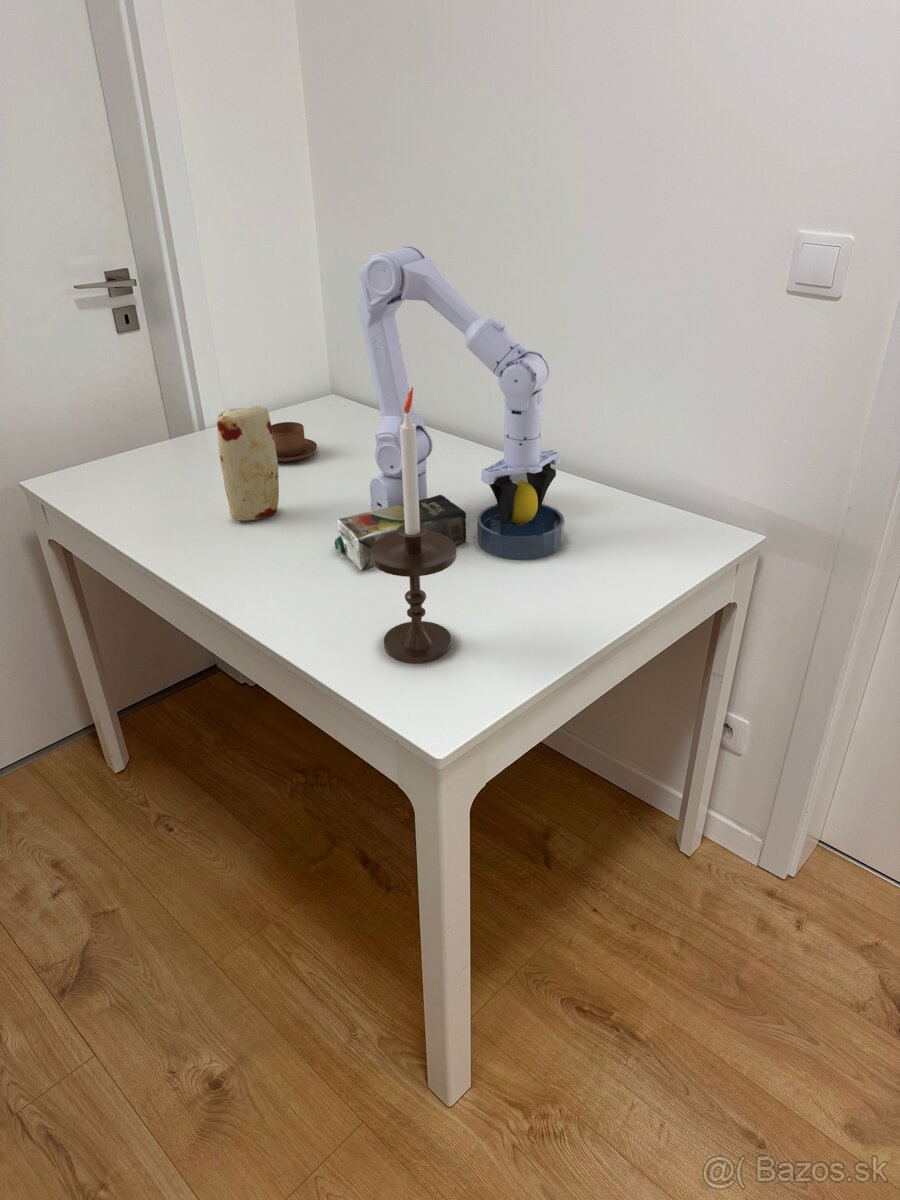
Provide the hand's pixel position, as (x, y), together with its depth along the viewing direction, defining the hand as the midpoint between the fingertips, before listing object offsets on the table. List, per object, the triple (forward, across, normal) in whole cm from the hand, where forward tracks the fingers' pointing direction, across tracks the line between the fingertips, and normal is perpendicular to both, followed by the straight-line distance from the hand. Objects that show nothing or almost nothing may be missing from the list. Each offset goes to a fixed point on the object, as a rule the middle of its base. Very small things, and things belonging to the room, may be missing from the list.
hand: (520, 514), depth 138 cm
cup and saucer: (+5, -13, +60) cm, 62 cm away
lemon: (+2, 0, 0) cm, 2 cm away
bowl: (+5, 0, 0) cm, 5 cm away
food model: (+5, -31, +36) cm, 48 cm away
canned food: (+1, +11, +15) cm, 19 cm away
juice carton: (+5, -17, +10) cm, 20 cm away
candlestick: (+5, -31, -16) cm, 35 cm away
